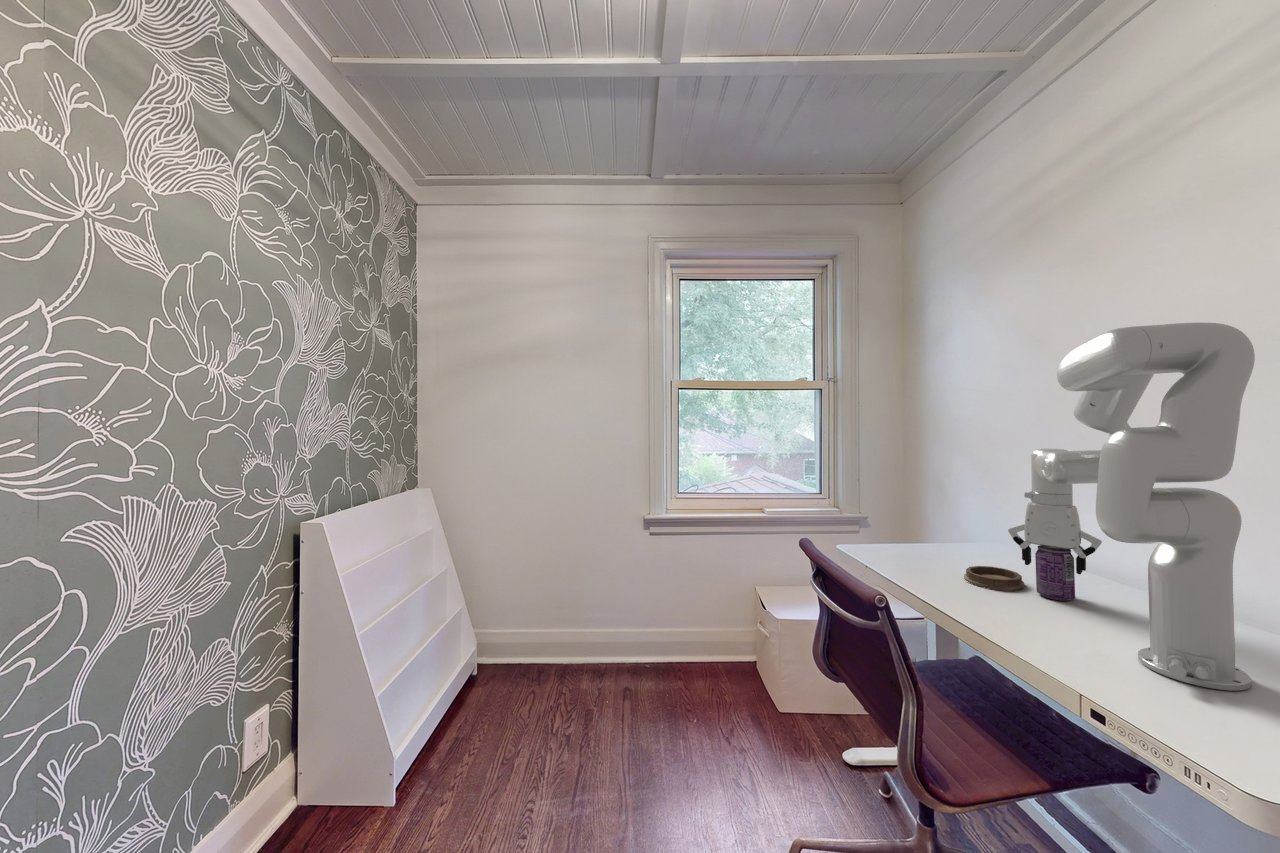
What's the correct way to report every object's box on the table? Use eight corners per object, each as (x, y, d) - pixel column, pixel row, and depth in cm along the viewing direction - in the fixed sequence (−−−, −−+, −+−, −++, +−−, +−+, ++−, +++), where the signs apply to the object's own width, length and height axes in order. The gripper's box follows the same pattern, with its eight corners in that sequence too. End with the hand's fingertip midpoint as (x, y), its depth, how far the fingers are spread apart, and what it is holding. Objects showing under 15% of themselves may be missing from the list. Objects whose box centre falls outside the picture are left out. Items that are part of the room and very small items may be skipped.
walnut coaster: (1017, 594, 117) (1017, 584, 117) (957, 582, 127) (956, 572, 127) (1030, 582, 125) (1029, 572, 125) (972, 571, 135) (972, 562, 135)
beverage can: (1071, 594, 116) (1069, 546, 116) (1078, 604, 110) (1077, 553, 110) (1034, 590, 120) (1032, 543, 120) (1039, 599, 114) (1037, 550, 114)
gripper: (1004, 497, 119) (1005, 564, 120) (1098, 506, 106) (1099, 581, 106) (1011, 493, 124) (1013, 557, 124) (1103, 501, 111) (1104, 572, 111)
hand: (1052, 568), depth 115 cm, fingers open, 9 cm apart
